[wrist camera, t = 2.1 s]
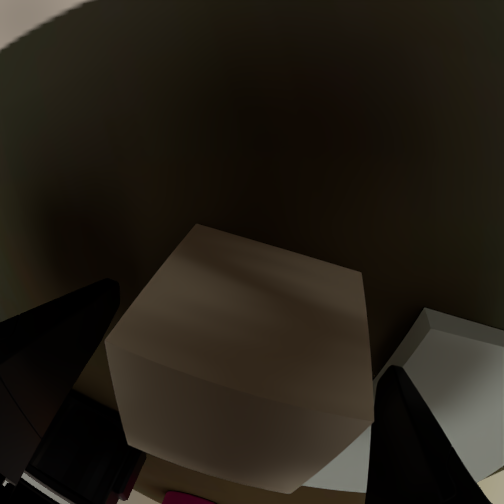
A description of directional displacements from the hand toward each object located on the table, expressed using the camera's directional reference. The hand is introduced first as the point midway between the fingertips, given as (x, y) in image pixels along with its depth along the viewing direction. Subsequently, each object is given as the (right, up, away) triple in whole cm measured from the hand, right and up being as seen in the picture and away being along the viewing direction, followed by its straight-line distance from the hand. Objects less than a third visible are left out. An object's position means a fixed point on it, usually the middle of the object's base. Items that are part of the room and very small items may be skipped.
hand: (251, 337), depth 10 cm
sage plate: (+11, -7, +3) cm, 13 cm away
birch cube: (0, +1, +1) cm, 1 cm away
